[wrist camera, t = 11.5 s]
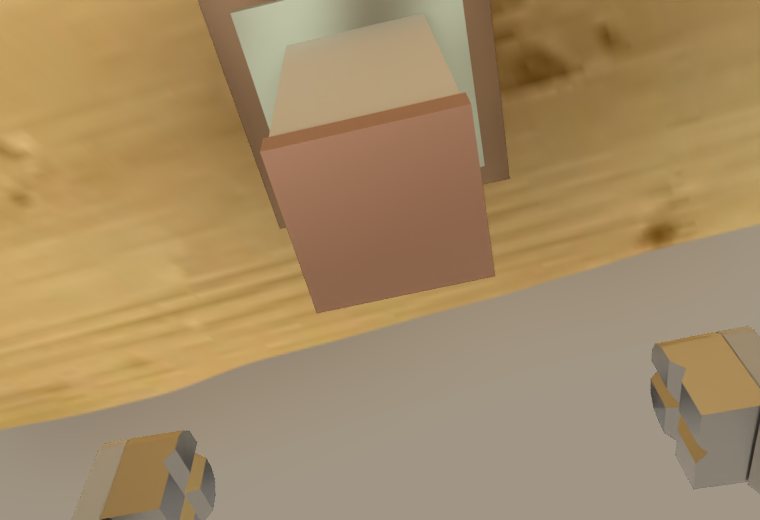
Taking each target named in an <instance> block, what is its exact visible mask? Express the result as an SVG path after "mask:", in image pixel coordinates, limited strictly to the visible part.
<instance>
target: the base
mask: <svg viewBox="0 0 760 520" xmlns="http://www.w3.org/2000/svg"><path fill="white" fill-rule="evenodd" d="M198 2H199V5H200V8H201V10H202V13H203V16H204V19H205V22H206V24H207V27H208V30H209V33H210V35H211V38H212V41H213V44H214V47H215V49H216V52H217V55H218V58H219V60H220V63H221V66H222V69H223V72H224V74H225V77H226V80H227V83H228V86H229V88H230V91H231V94H232V97H233V99H234V102H235V105H236V108H237V111H238V113H239V116H240V119H241V122H242V124H243V127H244V130H245V133H246V136H247V138H248V141H249V144H250V147H251V149H252V152H253V155H254V158H255V161H256V163H257V166H258V169H259V172H260V175H261V177H262V180H263V183H264V186H265V188H266V191H267V194H268V197H269V200H270V202H271V205H272V208H273V211H274V213H275V216H276V219H277V222H278V225H279V227H280V229H281V228H286V224H285V222H284V219H283V216H282V213H281V210H280V207H279V205H278V202H277V199H276V196H275V193H274V190H273V187H272V185H271V182H270V179H269V176H268V173H267V170H266V168H265V165H264V162H263V159H262V156H261V153H260V150H261V145H262V140H263V138H268V137H269V133H270V128H271V123H272V118H273V112H274V107H275V102H276V97H277V92H278V87H279V81H280V76H281V71H282V66H283V61H284V56H285V51H286V45H290V44H294V43H298V42H303V41H307V40H311V39H315V38H319V37H324V36H328V35H332V34H336V33H340V32H345V31H349V30H353V29H357V28H361V27H366V26H370V25H374V24H378V23H382V22H387V21H391V20H395V19H399V18H403V17H407V16H412V15H416V14H420V13H423V14H424V16H425V18H426V20H427V22H428V24H429V27H430V29H431V31H432V33H433V35H434V37H435V40H436V42H437V44H438V46H439V48H440V50H441V52H442V55H443V57H444V59H445V61H446V63H447V65H448V68H449V70H450V72H451V74H452V76H453V78H454V81H455V83H456V85H457V87H458V89H459V91H460V93H464V92H466V94H467V96H468V98H469V100H470V103H471V106H472V113H473V120H474V127H475V134H476V142H477V149H478V156H479V163H480V170H481V177H482V185H483V184H487V183H492V182H497V181H501V180H506V179H510V176H509V167H508V158H507V149H506V140H505V131H504V122H503V113H502V104H501V95H500V86H499V77H498V68H497V60H496V51H495V42H494V33H493V24H492V15H491V6H490V0H198Z"/></svg>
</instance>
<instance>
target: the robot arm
mask: <svg viewBox="0 0 760 520" xmlns="http://www.w3.org/2000/svg"><path fill="white" fill-rule="evenodd" d="M652 362H653V364H654V366H655V368H656V370H657V372H656V373H655V375H654V376H653V377H652V378H651V397H652V403H653V408H654V410H655V413H656V416H657V419H658V421H659V423H660V425H661V427H662V429H663V431H664V433H665V434H667V435H668V436H670V437H672V438H673V439H675V440H676V457H677V459H678V461H679V463H680V465H681V467H682V469H683V471H684V472H685V474H686V476H687V478H688V480H689V482H690V484H691V486H692V488H693V489H698V488H706V487H714V486H720V485H728V484H735V483H743V482H748V485H749V486H750V487H751V488H753V489H754V490H756V491H757V492H758V493H760V336H759V335H758V334H757V333H756V331H755V330H754V329H752V328H751V327H749V326H745V327H740V328H735V329H729V330H724V331H719V332H716V333H707V334H702V335H697V336H692V337H687V338H681V339H676V340H672V341H666V342H661V343H656V344H655V345H654V347H653V349H652ZM196 445H197V441H196V440H195V438H194V437H193V435H192V434H191V432H190V431H184V430H183V431H177V432H170V433H164V434H158V435H151V436H144V437H138V438H132V439H128V440H122V441H116V442H109V443H105V444H104V445H103V446H102V447H101V448H100V449H99V450H98V452H97V455H96V457H95V460H94V463H93V465H92V468H91V471H90V473H89V476H88V478H87V481H86V483H85V486H84V489H83V492H82V494H81V496H80V499H79V502H78V504H77V507H76V510H75V512H74V515H73V517H72V520H205V519H206V518H207V517H208V516H209V515H210V513H211V512H212V511H213V507H214V502H215V496H216V494H215V478H214V474H213V471H212V468H211V465H210V464H209V462H208V460H207V458H205V457H203V456H201V455H199V454H197V453H195V450H196Z"/></svg>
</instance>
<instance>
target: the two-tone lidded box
mask: <svg viewBox="0 0 760 520" xmlns="http://www.w3.org/2000/svg"><path fill="white" fill-rule="evenodd" d="M260 153H261V156H262V159H263V162H264V165H265V168H266V170H267V173H268V176H269V179H270V182H271V185H272V187H273V190H274V193H275V196H276V199H277V202H278V205H279V207H280V210H281V213H282V216H283V219H284V222H285V224H286V227H287V230H288V233H289V236H290V239H291V241H292V244H293V247H294V250H295V253H296V256H297V258H298V261H299V264H300V267H301V270H302V273H303V276H304V278H305V281H306V284H307V287H308V290H309V293H310V295H311V298H312V301H313V304H314V307H315V310H316V312H317V313H321V312H325V311H330V310H335V309H340V308H345V307H349V306H354V305H359V304H364V303H369V302H373V301H378V300H383V299H388V298H393V297H397V296H402V295H407V294H412V293H417V292H421V291H426V290H431V289H436V288H441V287H445V286H450V285H455V284H460V283H465V282H469V281H474V280H479V279H484V278H489V277H493V276H495V271H494V263H493V256H492V249H491V242H490V235H489V228H488V220H487V213H486V206H485V199H484V192H483V185H482V177H481V170H480V163H479V156H478V149H477V142H476V134H475V127H474V120H473V113H472V106H471V103H470V100H469V98H468V96H467V94H466V92H464V93H460V91H459V89H458V87H457V85H456V83H455V81H454V78H453V76H452V74H451V72H450V70H449V68H448V65H447V63H446V61H445V59H444V57H443V55H442V52H441V50H440V48H439V46H438V44H437V42H436V40H435V37H434V35H433V33H432V31H431V29H430V27H429V24H428V22H427V20H426V18H425V16H424V14H423V13H420V14H416V15H412V16H407V17H403V18H399V19H395V20H391V21H387V22H382V23H378V24H374V25H370V26H366V27H361V28H357V29H353V30H349V31H345V32H340V33H336V34H332V35H328V36H324V37H319V38H315V39H311V40H307V41H303V42H298V43H294V44H290V45H286V51H285V56H284V61H283V66H282V71H281V76H280V81H279V87H278V92H277V97H276V102H275V107H274V112H273V118H272V123H271V128H270V133H269V137H268V138H263V140H262V145H261V150H260Z"/></svg>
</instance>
